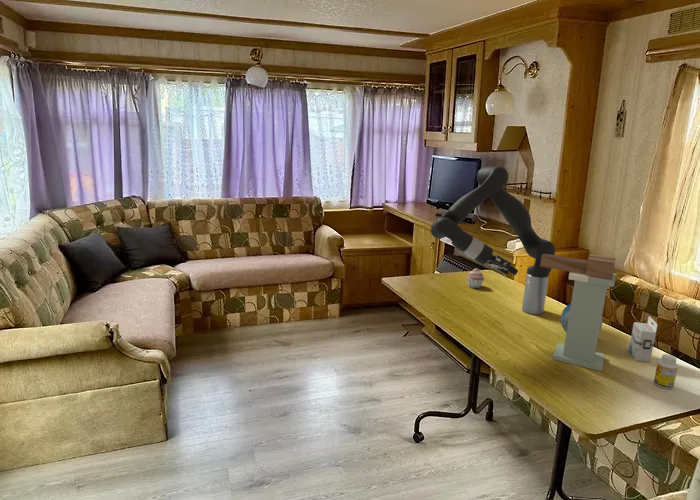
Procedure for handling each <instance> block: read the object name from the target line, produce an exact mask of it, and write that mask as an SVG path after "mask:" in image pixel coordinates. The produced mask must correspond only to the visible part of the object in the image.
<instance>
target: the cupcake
mask: <svg viewBox="0 0 700 500" xmlns="http://www.w3.org/2000/svg"><path fill="white" fill-rule="evenodd" d="M465 278H466V280H467V286H468V287H469V288H472V289H480V288H481V287H482V284H483V282H484V281H485V279H486V278H485V277H484V274H483V273H482V271H481V269H479V268H478V267H476V268H474V269H473V270H472V271H469V272H468V274H467V275H466V277H465Z"/></svg>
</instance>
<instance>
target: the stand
mask: <svg viewBox="0 0 700 500" xmlns="http://www.w3.org/2000/svg"><path fill="white" fill-rule="evenodd" d="M585 275H586V274H581V273H575V272H569V273H568V280H571V281H574V285H573V289H572V296H571V303H570V304H571V308H570V314H569V320H568V326H567V332H565V334H566V335H565V339H564V343H560V342H559V343H557V345H556V347H555V350H554V351H553V354H552V360H555V361H558V362H562V363H563V362H564V363H567V364H571V365H573V366H574V365H575V366H579V367H583V368H587V369H590V370H594V371H595V370H596V371H598V372H603V368H604V361H605V353H601V352H597V346H598V342H599V341H598V340H599V335H600V332H601V330H600V325H601V320H602V321H603V313H604V307H605V302H606V296H607V290H608V287H611V288H615V284H616V283H615V282H616V278H617V273H613V276H612V280H608V279H602V278H596V277H590V276H585Z"/></svg>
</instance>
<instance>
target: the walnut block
mask: <svg viewBox="0 0 700 500" xmlns="http://www.w3.org/2000/svg"><path fill="white" fill-rule="evenodd" d="M616 260H617V257H614V256H608V255H600V254H593V253H590V254H589V256H588V258H587V259H580V258H574V257H569V256H568V257H567V256H561V255H550V254H543V255H542V256H541V263H540V267H545V268H551V270H558V271H564V272H569V273H570V272H575V273H581V274H586V275H585V276H590V277H596V278H602V279H608V280H612V276H613V274H614V269H615V264H616Z"/></svg>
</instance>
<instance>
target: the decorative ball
mask: <svg viewBox="0 0 700 500" xmlns="http://www.w3.org/2000/svg"><path fill="white" fill-rule="evenodd" d="M570 308H571V303H569V304H567V305H566V306H565V307H564V308H563V310H562V312H561V315H560V325H561V327H562V329H563V331H564V332H565V333H566V332H567V326H568V320H569V314H570ZM602 327H603V319H602V320H601V325H600V331H601V330H602Z"/></svg>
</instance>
